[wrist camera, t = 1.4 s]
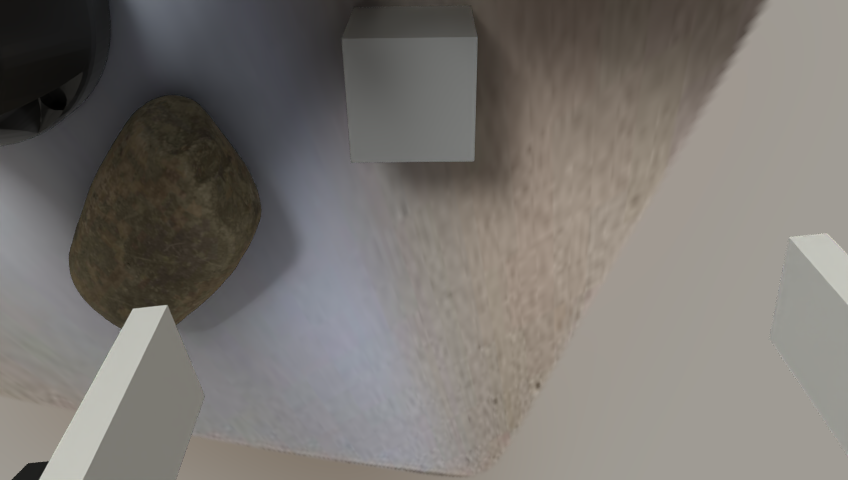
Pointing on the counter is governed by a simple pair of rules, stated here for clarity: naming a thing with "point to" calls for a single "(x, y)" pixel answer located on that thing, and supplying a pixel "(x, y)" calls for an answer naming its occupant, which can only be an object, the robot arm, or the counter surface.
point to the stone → (163, 214)
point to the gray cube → (411, 83)
